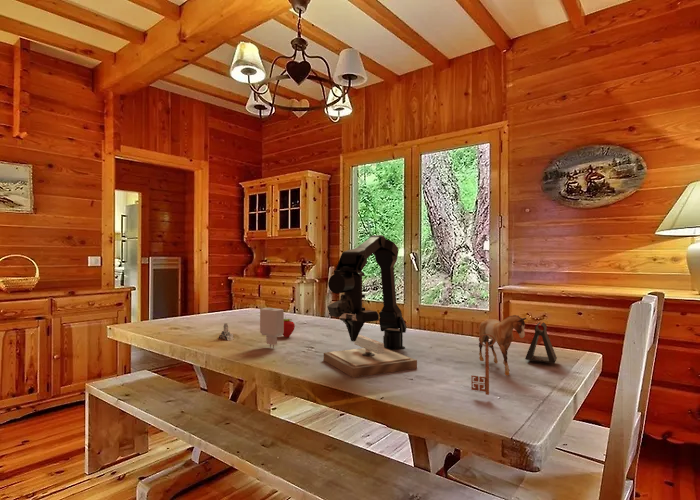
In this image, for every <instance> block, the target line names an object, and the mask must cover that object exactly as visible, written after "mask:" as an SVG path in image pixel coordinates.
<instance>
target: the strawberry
mask: <svg viewBox="0 0 700 500" xmlns="http://www.w3.org/2000/svg"><path fill="white" fill-rule="evenodd" d="M284 317H285V318H284V333H283V335H282V336H283V337H284V338H290V337H291V335H292V334H293V332H294V330H295V327H296V325H295V323H294V322H293V321H292V320H293V319H291V318H287V317H286V315H284Z"/></svg>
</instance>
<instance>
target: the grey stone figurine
mask: <svg viewBox="0 0 700 500" xmlns="http://www.w3.org/2000/svg"><path fill="white" fill-rule="evenodd" d="M218 339H220V340H221V339H222V340H224V341H232V340H234V333H232V332H230V331H229V324H228V323H223V330H222V331H221V333H220V334H219V335H218Z"/></svg>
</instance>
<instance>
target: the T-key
mask: <svg viewBox="0 0 700 500" xmlns="http://www.w3.org/2000/svg"><path fill="white" fill-rule="evenodd" d="M353 343H354V345H356V346H358V347H360V348H365V354H372V352H375V353H377V354H383V353H384V343H383V342H381V341H378V340H376V339H373V338H370V337H368V336H365V335H362V334H358V337H357V339H356V341H354V342H353Z"/></svg>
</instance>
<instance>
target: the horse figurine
mask: <svg viewBox="0 0 700 500" xmlns="http://www.w3.org/2000/svg"><path fill="white" fill-rule="evenodd" d="M526 319H527V317H524V318H523V317H521V316H520V315H516V314H512V315H509V316H506V318H504V319H502V320H501V321H500V320H499V319H496V318H487V319H484V320H482V321H481V322H480V323H479V328H478V331H479V332H478V333H479V337H480V336H481V335H483V334H490V335H492V336H493V337H494V338H495V343H497V346H498V347H499V350H500V352H501V354H502V357H503V362H502V363H503V365H504V374H505V375H506V376H510V366H509V363H508V350H509V348H510V346H511V343H512V342H513V340H514V333H513V330H515V331H516V333H517V334H518V336H519V338H520V339H523V338H524V337H525V336H526V332H525V327H526V322H525V320H526ZM480 340H481V342H482V343H483V344H486V342H488V345H491V344H493V338H492V337H491V336H488V335H484V336H482V337H481V339H480ZM489 340H490V341H489ZM483 346H484V345H482V344H481V343H480V342H479V343H478V347H479V353H478V355H479V358H478V359H479V361H481V362H485V359H484V356H483V353H482V350H483V349H482V348H483ZM488 348H489V349H490V350H491V351H492V355H493V357H494V358H493V362H494V364H498V357H497V353H496V350H495V348H494V345H492V346H488Z"/></svg>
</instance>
